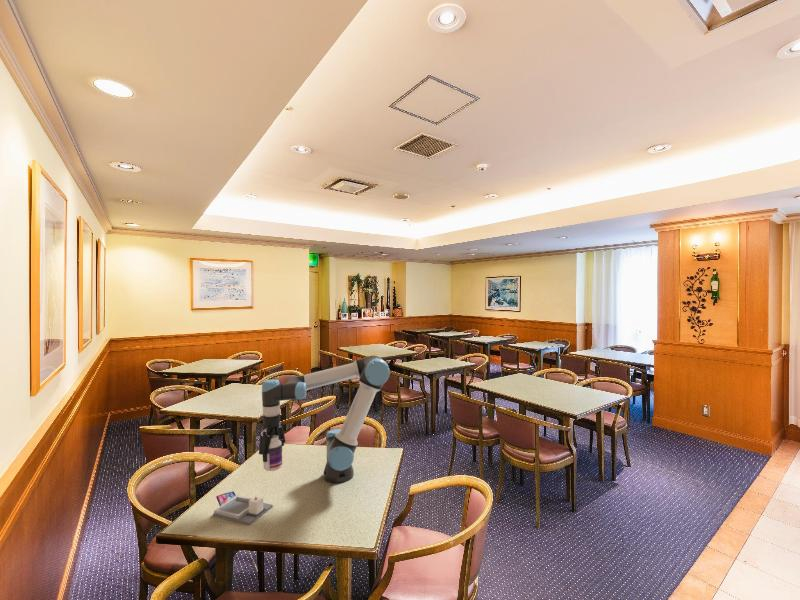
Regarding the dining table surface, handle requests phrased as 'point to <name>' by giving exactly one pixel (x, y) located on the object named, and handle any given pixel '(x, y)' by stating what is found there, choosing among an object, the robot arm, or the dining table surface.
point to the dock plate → (242, 509)
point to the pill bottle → (275, 454)
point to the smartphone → (225, 497)
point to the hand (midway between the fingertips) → (273, 464)
